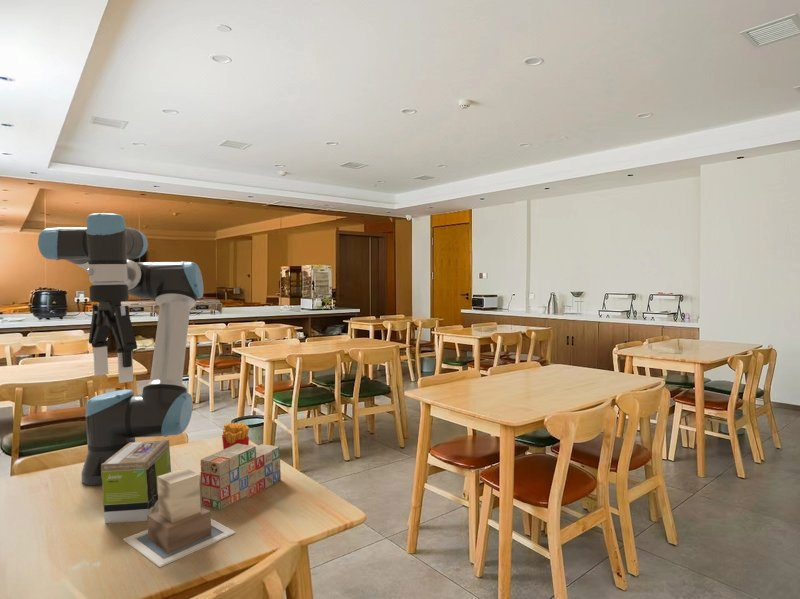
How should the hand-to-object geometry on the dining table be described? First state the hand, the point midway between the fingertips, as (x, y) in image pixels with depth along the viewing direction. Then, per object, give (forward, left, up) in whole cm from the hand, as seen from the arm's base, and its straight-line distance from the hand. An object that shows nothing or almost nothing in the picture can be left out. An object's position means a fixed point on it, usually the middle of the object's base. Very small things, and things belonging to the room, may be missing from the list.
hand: (113, 378), depth 115 cm
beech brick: (+20, +4, -27) cm, 34 cm away
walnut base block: (+20, +4, -32) cm, 38 cm away
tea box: (-1, +5, -33) cm, 33 cm away
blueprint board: (+20, +4, -33) cm, 39 cm away
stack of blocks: (+10, +26, -33) cm, 43 cm away
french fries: (-6, +34, -33) cm, 48 cm away
